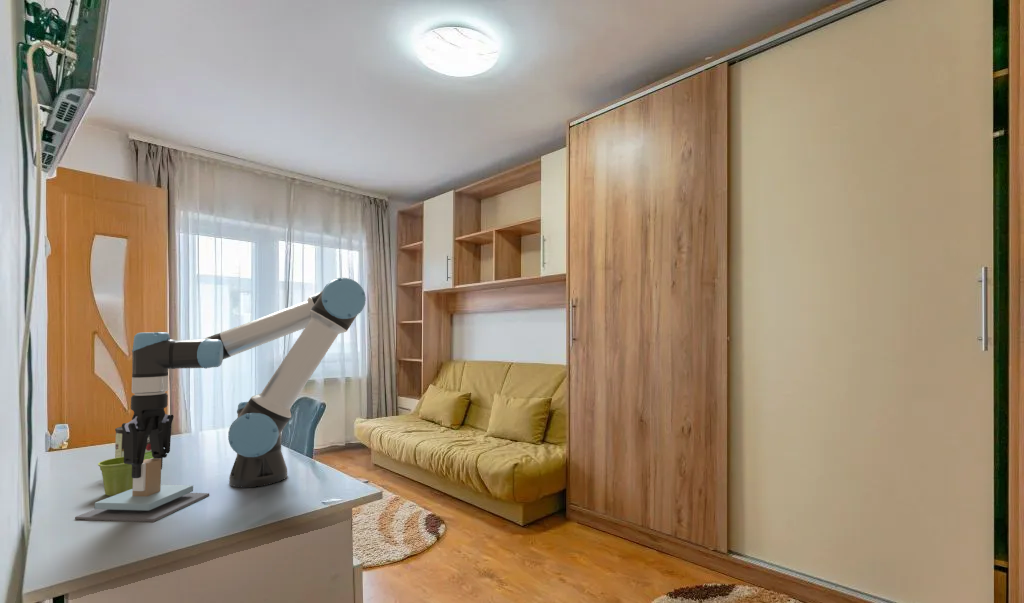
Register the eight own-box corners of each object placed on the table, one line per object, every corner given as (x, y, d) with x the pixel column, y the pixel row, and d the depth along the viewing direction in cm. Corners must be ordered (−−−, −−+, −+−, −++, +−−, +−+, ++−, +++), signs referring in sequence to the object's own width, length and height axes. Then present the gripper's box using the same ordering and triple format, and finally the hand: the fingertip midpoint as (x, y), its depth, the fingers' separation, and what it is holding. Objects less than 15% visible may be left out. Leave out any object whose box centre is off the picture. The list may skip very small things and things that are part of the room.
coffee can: (163, 467, 160) (164, 423, 160) (133, 477, 149) (135, 430, 150) (135, 466, 161) (136, 423, 162) (104, 476, 151) (106, 429, 152)
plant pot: (116, 499, 130) (117, 465, 130) (87, 497, 132) (88, 464, 132) (149, 488, 139) (150, 456, 139) (121, 486, 141) (122, 455, 141)
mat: (209, 495, 132) (209, 493, 132) (154, 521, 114) (154, 519, 114) (139, 494, 134) (140, 491, 134) (74, 519, 116) (75, 516, 116)
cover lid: (193, 491, 130) (194, 454, 131) (148, 510, 116) (150, 469, 117) (144, 490, 131) (145, 453, 132) (94, 509, 118) (96, 468, 118)
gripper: (162, 389, 134) (160, 477, 133) (105, 397, 117) (101, 498, 116) (188, 389, 133) (186, 477, 132) (134, 397, 116) (131, 499, 115)
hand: (146, 487), depth 124 cm, fingers closed on cover lid, 4 cm apart
